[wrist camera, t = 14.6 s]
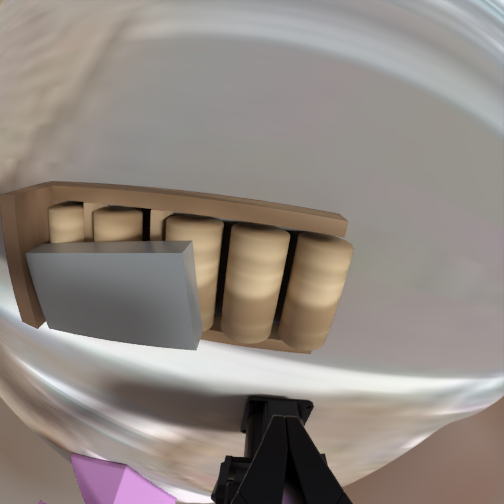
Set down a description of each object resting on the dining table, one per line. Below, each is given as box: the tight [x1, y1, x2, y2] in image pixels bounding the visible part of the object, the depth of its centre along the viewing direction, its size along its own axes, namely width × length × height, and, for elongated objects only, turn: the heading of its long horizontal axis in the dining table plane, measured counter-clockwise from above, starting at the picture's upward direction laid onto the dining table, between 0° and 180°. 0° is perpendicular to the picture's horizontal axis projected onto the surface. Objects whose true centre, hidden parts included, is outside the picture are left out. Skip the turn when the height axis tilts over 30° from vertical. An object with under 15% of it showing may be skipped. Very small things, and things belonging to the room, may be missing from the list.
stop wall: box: [0, 181, 68, 329], centre depth 16 cm, size 10×2×6 cm, turn 172°
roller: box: [93, 206, 143, 242], centre depth 18 cm, size 7×4×4 cm, turn 172°
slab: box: [25, 241, 203, 350], centre depth 15 cm, size 6×12×2 cm, turn 91°
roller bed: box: [48, 182, 354, 354], centre depth 18 cm, size 10×22×4 cm, turn 82°
